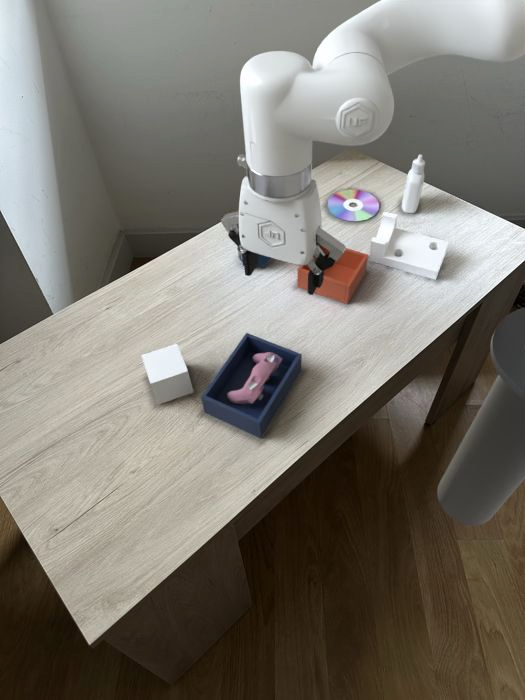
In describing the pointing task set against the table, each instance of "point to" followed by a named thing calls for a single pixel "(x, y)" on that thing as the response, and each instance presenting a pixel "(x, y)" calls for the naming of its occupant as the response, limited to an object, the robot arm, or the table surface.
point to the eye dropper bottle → (413, 186)
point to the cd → (363, 211)
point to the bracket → (407, 249)
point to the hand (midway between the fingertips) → (282, 278)
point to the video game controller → (256, 379)
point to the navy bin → (237, 374)
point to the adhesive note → (167, 373)
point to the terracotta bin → (338, 275)
